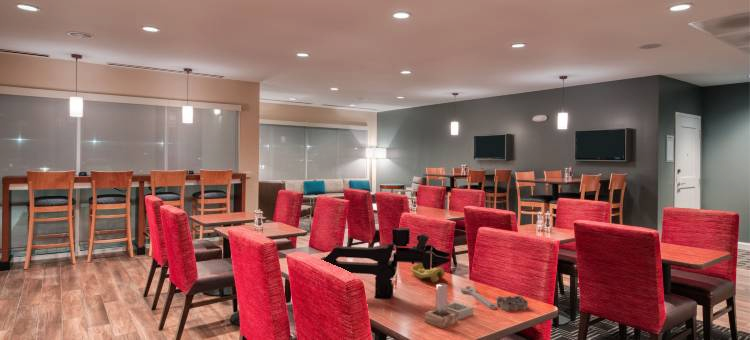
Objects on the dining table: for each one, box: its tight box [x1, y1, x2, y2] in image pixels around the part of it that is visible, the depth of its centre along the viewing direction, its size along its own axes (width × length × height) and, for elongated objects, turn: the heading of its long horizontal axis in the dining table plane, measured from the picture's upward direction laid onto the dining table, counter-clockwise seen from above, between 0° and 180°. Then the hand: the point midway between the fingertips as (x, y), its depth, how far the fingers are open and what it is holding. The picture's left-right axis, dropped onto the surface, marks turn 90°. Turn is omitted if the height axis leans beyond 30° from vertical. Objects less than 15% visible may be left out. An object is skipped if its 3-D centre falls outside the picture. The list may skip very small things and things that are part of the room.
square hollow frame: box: [447, 301, 474, 321], centre depth 161 cm, size 8×8×2 cm
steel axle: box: [435, 282, 448, 317], centre depth 152 cm, size 4×4×12 cm
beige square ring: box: [424, 308, 458, 329], centre depth 153 cm, size 8×7×3 cm
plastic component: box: [410, 263, 446, 283], centre depth 206 cm, size 20×7×10 cm
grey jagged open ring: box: [495, 294, 530, 312], centre depth 169 cm, size 11×8×4 cm
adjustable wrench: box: [460, 285, 497, 310], centre depth 178 cm, size 25×6×2 cm, turn 9°
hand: (450, 257), depth 175 cm, fingers open, 9 cm apart
